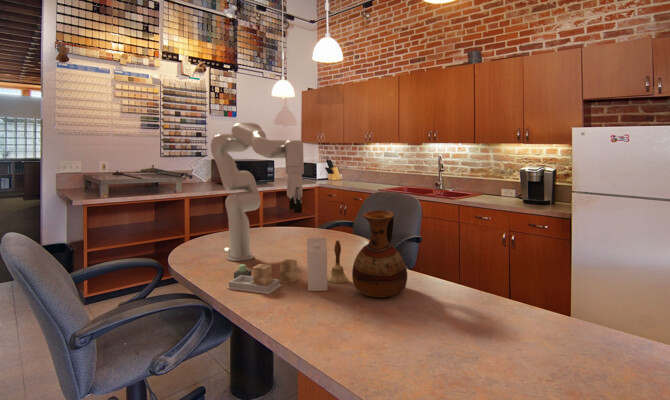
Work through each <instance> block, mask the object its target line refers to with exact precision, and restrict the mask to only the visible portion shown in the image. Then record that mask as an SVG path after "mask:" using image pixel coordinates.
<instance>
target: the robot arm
mask: <svg viewBox="0 0 670 400" xmlns="http://www.w3.org/2000/svg"><path fill="white" fill-rule="evenodd" d="M250 148H252V150H253V151H254V152H255V153H256V154H258V155H259V156H261V157H264V158H266V159H285V161H284V162H285V163H284V165H285V175H287V176H286V177H287V178H286V196H287V197H288V198H289V210H293V213H294V214H300V213H301V214H302V213H303V201H302V197H303V179H302V178H303V176H302V175H304V174H305V173H304V172H305V170H304V169H305V167H304V164H305V163H304V162H305V161H304V142H303V141H302V140H297V139H295V140H293V139H291V140H283V139H282V140H281V139H269V138H267V136H266V133H265V132H264V130H263V129H262V127H261V126H260V125H259V124H257V123H254V122H237V123H235V124H234V125H233V126H232V128H231V133H220V134H216V135H214V136H213V138H212V139H211V141H210V151H211V152H210V153H211V155H212V158H213V159H214V161H215V163H216V166H217V169H218V172H219V175H220V181H221V182H222V185H223V189H225V191H228V192H232V193H231V194H229V195H228V196H227V197H226V199H225V201H224V202H225V204H224V205H225V208H226V213H227V218H228V221H227V222H228V234H229V235H228V236H229V237H228V239H229V247H225V248H224V250H223V253H224V254H227V255H226V259H227V260H228V261H231V262H245V261H249V260H251V259H253V258H254V257H255V255H254V253H252V252H251V239H250V237H251V236H250V234H251V233H250V220H249V218H248V217H249V216H248V215H247V214H246V212H252V211H256V210H258V209H259V208H260V206H261V203H262V201H261V195H260V192H259V189H258V186H257V183H256V179H255V177H254V175H253V173H251V172H250V171H248V170H239V169H238V168H237V164H236V161H235V159H234V157H232V156H231V155H230V154H229V153H230V152H232V153H233V152H234V153H236V152H239V153H240V152H244V151H247V150H249V149H250ZM236 191H242V192H236ZM233 192H234V193H233Z"/></svg>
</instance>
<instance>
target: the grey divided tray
mask: <svg viewBox="0 0 670 400" xmlns="http://www.w3.org/2000/svg"><path fill="white" fill-rule="evenodd" d="M281 287H282V285H281V284H280V278H279V279H278V278H272V283H271V284H269V285H268V286H264V285H256V284H253V275H252V276H244V275H241V276H239V277H237V278H235V279H234V278H233V279H231V280H229V281H228V286H227V287H226V289H229V290H235V291H244V292H250V293H258V294H264V295H265V294H266V295H270V294H272V293H273V292H275V291H276V290H277V289H279V288H281Z"/></svg>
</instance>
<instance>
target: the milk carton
mask: <svg viewBox="0 0 670 400" xmlns="http://www.w3.org/2000/svg"><path fill="white" fill-rule="evenodd" d="M327 248H328V247H327V238H326V237H316V238H314V237H312V238H311V237H310V238H306V261H307V262H306V263H307V291H308V292H317V291H318V292H321V291H323V292H324V291H328V281H327V279H328V249H327Z"/></svg>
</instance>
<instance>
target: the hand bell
mask: <svg viewBox="0 0 670 400" xmlns="http://www.w3.org/2000/svg"><path fill="white" fill-rule="evenodd" d="M341 251H342V245H341V243H340V240H336V241H335V244H334V255H335V264H334V265H333V266H332V267H331V273H330V275H329V276H327V283H328V282H329V283H330V284H331V283H332V284H344V283H346V282H348V281H349V279H348V277H347V276H346V274H345V272H344V266H342V265H341V259H340V256H341Z"/></svg>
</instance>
